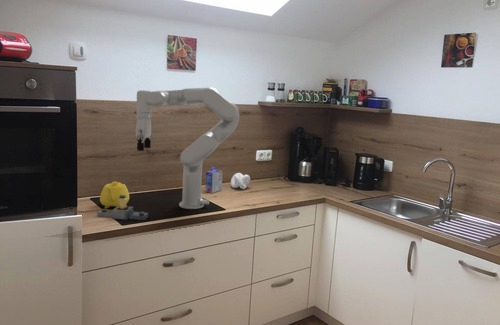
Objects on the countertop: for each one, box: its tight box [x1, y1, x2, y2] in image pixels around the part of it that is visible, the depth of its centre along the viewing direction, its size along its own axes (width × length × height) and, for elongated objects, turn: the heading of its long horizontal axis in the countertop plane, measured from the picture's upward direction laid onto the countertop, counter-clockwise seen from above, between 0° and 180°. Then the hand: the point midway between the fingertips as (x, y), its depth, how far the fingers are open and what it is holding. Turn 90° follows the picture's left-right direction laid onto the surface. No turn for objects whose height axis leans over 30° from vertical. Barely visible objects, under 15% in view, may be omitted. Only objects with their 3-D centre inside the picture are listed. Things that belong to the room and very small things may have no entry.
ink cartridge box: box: [205, 166, 223, 194], centre depth 248 cm, size 10×6×14 cm, turn 148°
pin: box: [120, 195, 127, 210], centre depth 192 cm, size 3×3×10 cm
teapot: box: [99, 181, 130, 209], centre depth 207 cm, size 13×20×12 cm
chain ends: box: [96, 205, 149, 221], centre depth 193 cm, size 22×7×4 cm, turn 84°
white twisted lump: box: [230, 172, 251, 191], centre depth 258 cm, size 11×12×9 cm
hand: (144, 149), depth 211 cm, fingers open, 9 cm apart
